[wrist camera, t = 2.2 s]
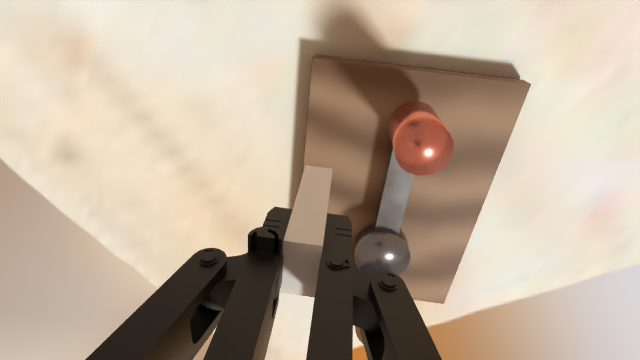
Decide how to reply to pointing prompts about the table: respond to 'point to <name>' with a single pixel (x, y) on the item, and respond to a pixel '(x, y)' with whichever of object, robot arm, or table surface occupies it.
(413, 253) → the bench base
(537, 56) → the table surface
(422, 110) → the lever
